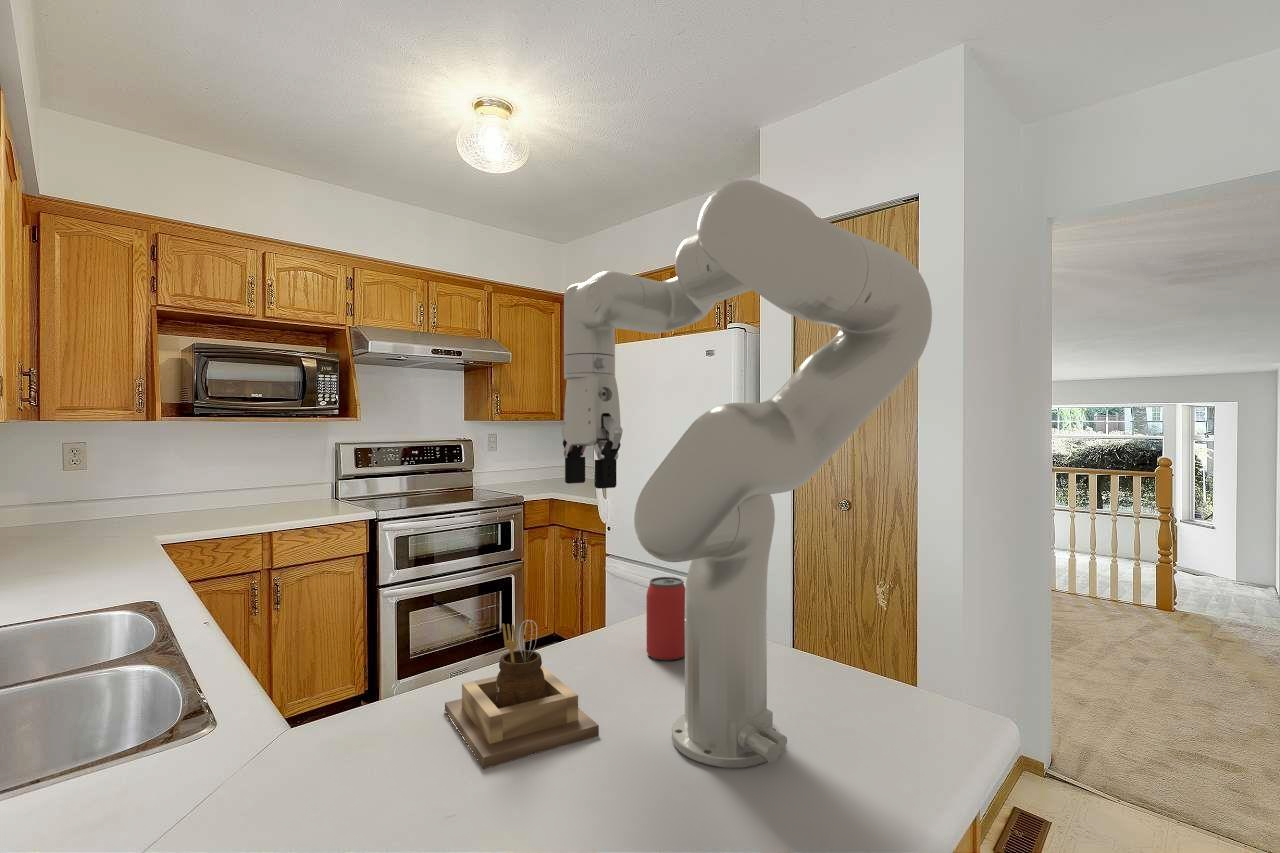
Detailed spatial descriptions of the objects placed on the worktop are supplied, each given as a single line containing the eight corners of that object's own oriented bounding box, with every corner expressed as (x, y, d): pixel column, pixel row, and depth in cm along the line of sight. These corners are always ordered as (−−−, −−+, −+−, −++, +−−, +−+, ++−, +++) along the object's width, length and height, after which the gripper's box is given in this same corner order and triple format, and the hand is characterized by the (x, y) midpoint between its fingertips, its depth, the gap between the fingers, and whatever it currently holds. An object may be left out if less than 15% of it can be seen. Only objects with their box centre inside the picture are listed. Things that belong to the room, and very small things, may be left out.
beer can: (694, 652, 102) (694, 579, 103) (674, 665, 97) (674, 587, 97) (659, 645, 106) (659, 574, 106) (638, 657, 100) (638, 582, 100)
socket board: (598, 735, 75) (598, 699, 75) (483, 768, 67) (483, 729, 67) (545, 688, 88) (545, 658, 88) (444, 711, 81) (444, 679, 81)
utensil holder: (552, 705, 80) (552, 611, 80) (530, 728, 74) (530, 626, 74) (510, 700, 81) (510, 608, 82) (485, 721, 75) (485, 622, 75)
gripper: (642, 365, 87) (642, 488, 87) (586, 374, 101) (586, 480, 101) (594, 362, 83) (594, 491, 83) (542, 372, 98) (542, 482, 97)
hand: (589, 485), depth 92 cm, fingers open, 9 cm apart
